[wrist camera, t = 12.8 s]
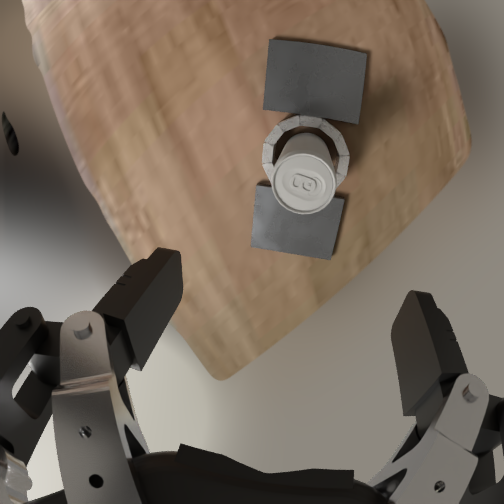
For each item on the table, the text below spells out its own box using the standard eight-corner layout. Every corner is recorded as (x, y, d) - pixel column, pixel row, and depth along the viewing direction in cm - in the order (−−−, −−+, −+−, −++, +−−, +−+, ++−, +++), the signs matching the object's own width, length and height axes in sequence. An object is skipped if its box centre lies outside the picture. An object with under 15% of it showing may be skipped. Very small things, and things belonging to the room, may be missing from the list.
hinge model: (270, 40, 24) (266, 35, 21) (365, 54, 23) (371, 50, 20) (252, 243, 37) (247, 256, 34) (330, 256, 36) (331, 270, 33)
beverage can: (320, 179, 31) (324, 224, 21) (279, 166, 31) (261, 204, 21) (334, 140, 28) (347, 164, 18) (291, 125, 29) (280, 142, 18)
